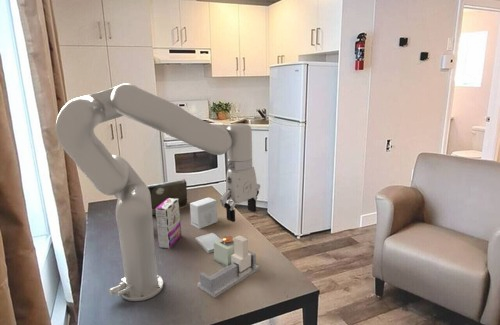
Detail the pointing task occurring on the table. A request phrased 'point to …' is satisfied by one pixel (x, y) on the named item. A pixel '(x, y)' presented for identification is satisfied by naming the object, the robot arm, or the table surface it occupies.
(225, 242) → the button
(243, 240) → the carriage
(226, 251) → the hollow cube
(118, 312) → the table surface
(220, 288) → the guide rail
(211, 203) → the skincare box
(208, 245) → the hard drive
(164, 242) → the candy bar box
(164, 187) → the radio
